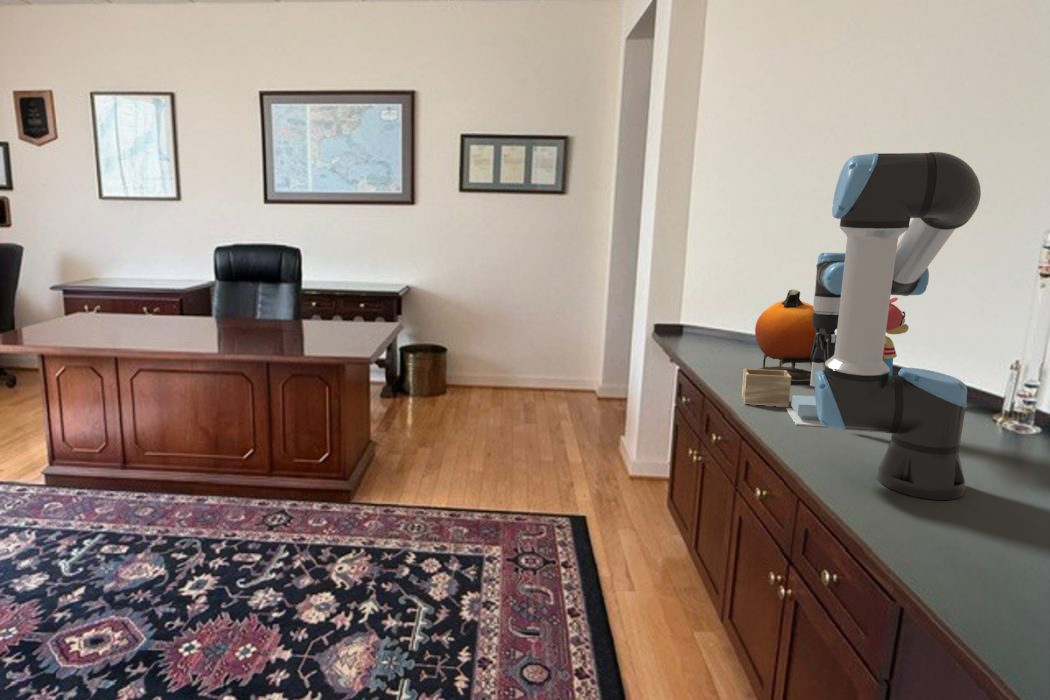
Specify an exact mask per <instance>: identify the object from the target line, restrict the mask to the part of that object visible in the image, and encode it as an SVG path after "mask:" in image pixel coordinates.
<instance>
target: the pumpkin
mask: <svg viewBox="0 0 1050 700" xmlns="http://www.w3.org/2000/svg"><path fill="white" fill-rule="evenodd" d="M800 296H801V291H800V290H797V289H789V290H788V292H787V294H786V298H785V300H780V301H778V302H775V303H773V304H771V305H770V306H769V307H768V308H766V309H765V310H764V311H763V312H762V313H761V314H760V316H759V317H758V318H757V320H756V323H755V327H754V328H755V330H754V335H755V336H754V337H755V339H756V342H757V345H758V347H759V349H760V351H761V352H762V353H763V354H764V355H763V360H762V361H763V362H762V367H761V368H759V369H764V370H786V371H787V372H788V373H789V375H790V376H791V385H803V386H804V385H805V386H808V385H810V381H811V370H812V358H811V357H810V356H811V352H812V348H813V343H814V339H815V333H816V328H815V327H813V326H812V318H813V314H814V313H815V311H814V310H813V305H812V304H810V303H809V302H806V301H802V300H801V298H800ZM767 358H770V359H773V360H778V361H779V362H778V363H779V364H778V366H777V365H776V366H766V361H767ZM790 363H791V366H783V365H784V364H790ZM802 363H805V364H808V363H809V364H810V371H809V370H806V369H803V368H802V369H801V368H798V367H797V368H796V364H802Z"/></svg>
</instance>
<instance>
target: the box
mask: <svg viewBox="0 0 1050 700" xmlns="http://www.w3.org/2000/svg"><path fill="white" fill-rule="evenodd" d="M742 370H743V371H742V383H741V384H742V387H741V397H742V398H741V400H742V399H743V400H742V402H744V403H743V405H744V404H752V405H751V406H756V405H766V406H765V407H773V406H776V407H777V408H790V406H789V405H790V395H791V385H792V384H791V376H790V375H789V373H788V372H787V371H786V370H764V369H760V368H743V369H742ZM753 404H754V405H753Z"/></svg>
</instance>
